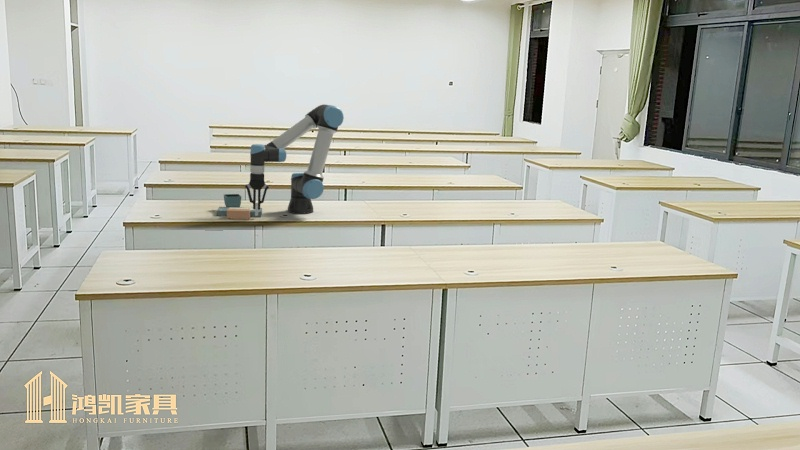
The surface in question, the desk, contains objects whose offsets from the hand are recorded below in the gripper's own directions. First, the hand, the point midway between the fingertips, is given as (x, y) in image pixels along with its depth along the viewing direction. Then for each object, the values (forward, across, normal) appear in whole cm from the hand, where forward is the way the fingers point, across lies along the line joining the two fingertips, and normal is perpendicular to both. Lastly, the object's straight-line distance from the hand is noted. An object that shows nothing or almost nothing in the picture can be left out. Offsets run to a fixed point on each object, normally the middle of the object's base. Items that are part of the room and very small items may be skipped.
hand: (256, 215), depth 372 cm
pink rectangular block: (+2, +10, -2) cm, 10 cm away
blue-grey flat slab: (+2, +10, -11) cm, 15 cm away
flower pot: (+2, +15, -22) cm, 27 cm away
